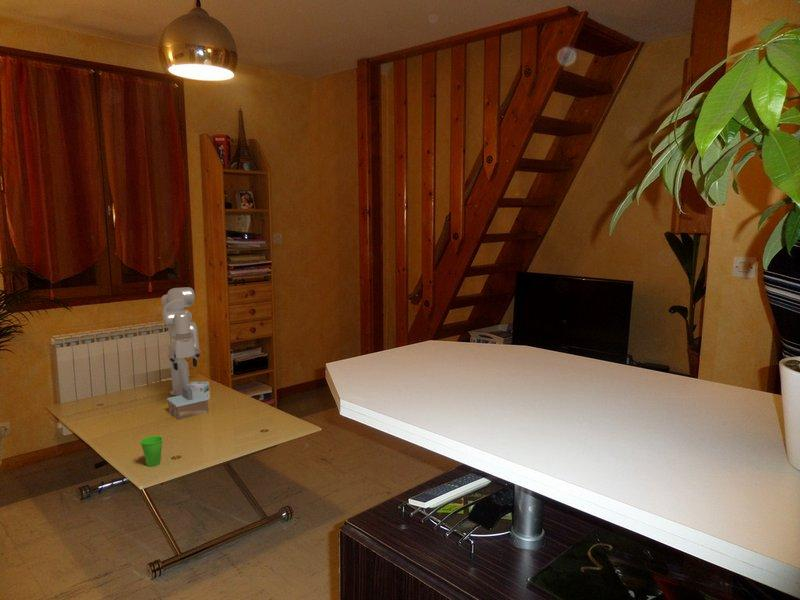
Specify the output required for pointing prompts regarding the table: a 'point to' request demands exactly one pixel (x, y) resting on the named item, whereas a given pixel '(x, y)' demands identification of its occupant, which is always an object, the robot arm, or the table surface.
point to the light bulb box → (199, 387)
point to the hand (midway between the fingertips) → (185, 368)
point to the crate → (188, 409)
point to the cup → (152, 449)
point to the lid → (187, 398)
